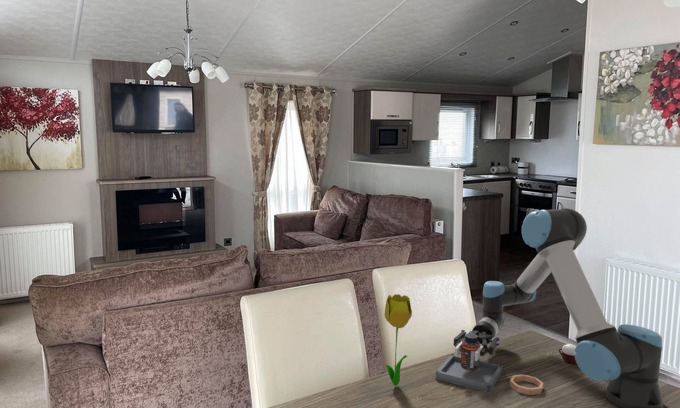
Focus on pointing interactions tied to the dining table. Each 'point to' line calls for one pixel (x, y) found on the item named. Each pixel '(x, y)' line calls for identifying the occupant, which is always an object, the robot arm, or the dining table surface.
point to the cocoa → (568, 353)
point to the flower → (397, 325)
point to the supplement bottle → (469, 352)
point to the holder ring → (523, 389)
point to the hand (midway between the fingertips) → (466, 354)
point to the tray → (469, 374)
